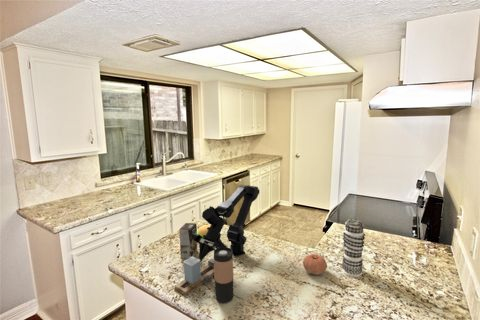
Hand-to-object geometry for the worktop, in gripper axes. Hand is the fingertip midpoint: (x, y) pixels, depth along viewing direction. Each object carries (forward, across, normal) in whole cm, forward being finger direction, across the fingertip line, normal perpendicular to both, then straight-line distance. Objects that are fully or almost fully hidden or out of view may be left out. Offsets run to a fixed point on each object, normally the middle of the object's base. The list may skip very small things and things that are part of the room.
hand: (200, 260), depth 119 cm
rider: (+10, 0, -3) cm, 10 cm away
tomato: (-18, -41, -30) cm, 54 cm away
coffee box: (-2, +20, -15) cm, 25 cm away
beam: (+6, -1, -6) cm, 9 cm away
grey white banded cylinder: (-25, -55, -37) cm, 71 cm away
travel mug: (+9, -17, -4) cm, 20 cm away
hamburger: (-15, +25, -28) cm, 41 cm away
